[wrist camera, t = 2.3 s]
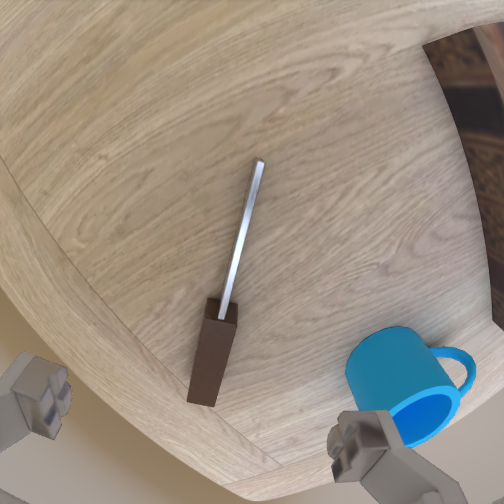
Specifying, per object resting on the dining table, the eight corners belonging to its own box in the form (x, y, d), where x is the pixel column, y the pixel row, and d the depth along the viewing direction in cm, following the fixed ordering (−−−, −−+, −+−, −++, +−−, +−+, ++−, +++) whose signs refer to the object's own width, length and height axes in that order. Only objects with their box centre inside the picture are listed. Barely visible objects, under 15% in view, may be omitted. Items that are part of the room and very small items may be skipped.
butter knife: (190, 379, 28) (186, 402, 25) (241, 153, 21) (241, 156, 18) (216, 384, 28) (214, 407, 25) (276, 162, 21) (281, 166, 18)
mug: (347, 400, 29) (368, 462, 22) (342, 341, 26) (370, 408, 19) (448, 365, 29) (483, 415, 21) (456, 303, 26) (504, 352, 18)
